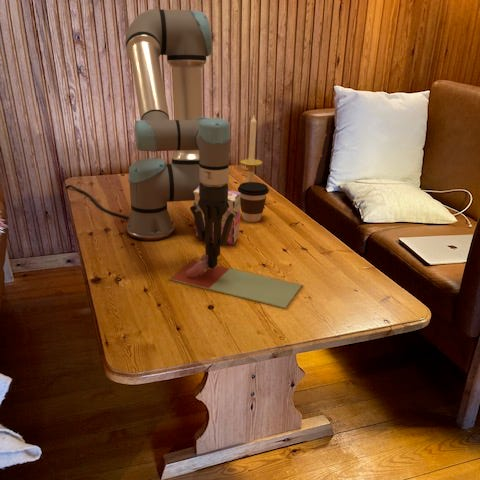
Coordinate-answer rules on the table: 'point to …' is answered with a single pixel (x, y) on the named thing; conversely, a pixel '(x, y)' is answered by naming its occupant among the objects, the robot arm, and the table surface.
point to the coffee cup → (252, 200)
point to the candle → (251, 153)
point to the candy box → (233, 205)
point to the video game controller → (198, 267)
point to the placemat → (241, 285)
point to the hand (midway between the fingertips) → (212, 265)
